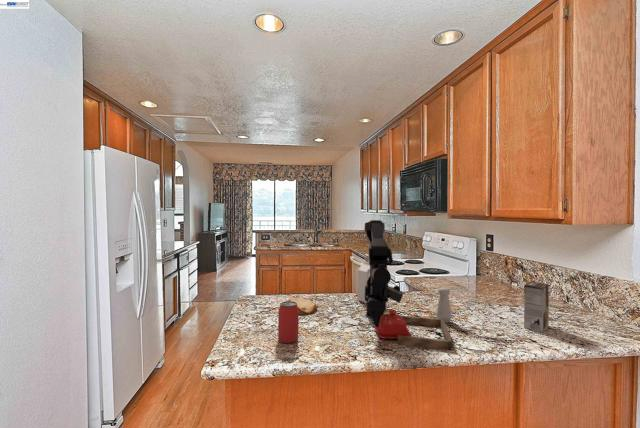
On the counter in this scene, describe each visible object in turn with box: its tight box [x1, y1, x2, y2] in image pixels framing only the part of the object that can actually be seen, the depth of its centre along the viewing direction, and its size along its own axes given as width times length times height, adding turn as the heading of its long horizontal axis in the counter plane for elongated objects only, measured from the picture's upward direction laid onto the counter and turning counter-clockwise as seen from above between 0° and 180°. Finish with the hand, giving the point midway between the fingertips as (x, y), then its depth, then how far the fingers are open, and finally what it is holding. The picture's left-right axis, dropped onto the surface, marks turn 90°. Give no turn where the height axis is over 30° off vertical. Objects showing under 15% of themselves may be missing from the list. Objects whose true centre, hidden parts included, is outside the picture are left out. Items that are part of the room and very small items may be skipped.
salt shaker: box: [435, 287, 453, 324], centre depth 124 cm, size 6×6×13 cm
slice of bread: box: [287, 297, 318, 316], centre depth 140 cm, size 18×18×4 cm
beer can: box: [277, 300, 300, 344], centre depth 104 cm, size 7×7×12 cm
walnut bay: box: [397, 314, 453, 351], centre depth 110 cm, size 16×22×2 cm
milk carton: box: [357, 260, 370, 304], centre depth 152 cm, size 7×7×19 cm
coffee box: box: [523, 281, 550, 333], centre depth 118 cm, size 9×6×16 cm
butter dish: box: [374, 309, 413, 340], centre depth 109 cm, size 12×12×8 cm
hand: (378, 322), depth 114 cm, fingers open, 9 cm apart
